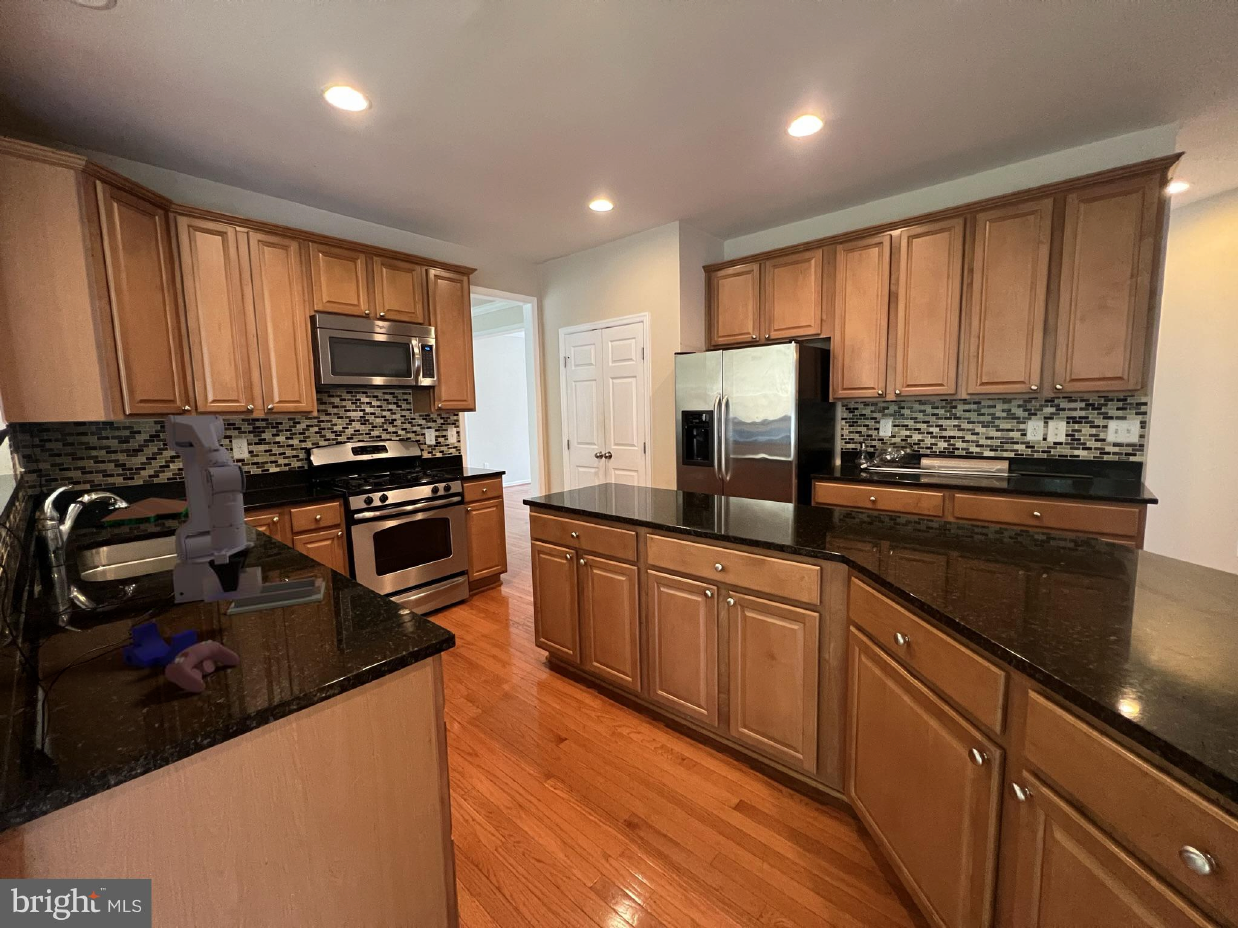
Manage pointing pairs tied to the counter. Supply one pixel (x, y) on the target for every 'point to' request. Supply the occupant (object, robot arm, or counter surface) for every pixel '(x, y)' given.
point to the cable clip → (155, 646)
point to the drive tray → (280, 595)
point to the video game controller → (205, 657)
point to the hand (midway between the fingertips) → (233, 587)
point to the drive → (246, 587)
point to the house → (147, 510)
